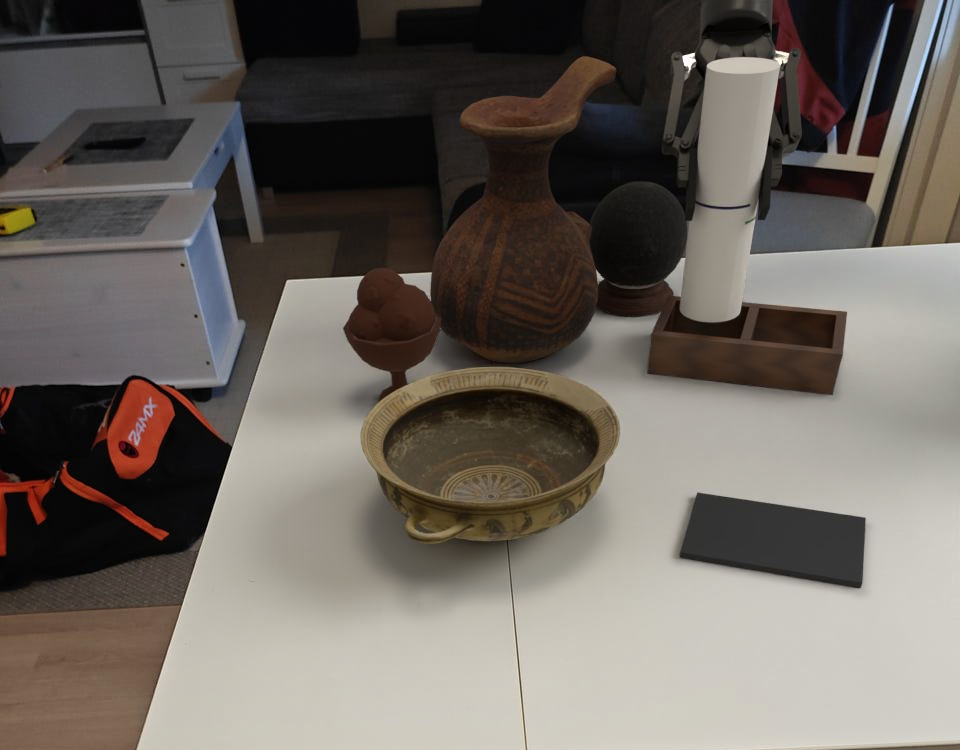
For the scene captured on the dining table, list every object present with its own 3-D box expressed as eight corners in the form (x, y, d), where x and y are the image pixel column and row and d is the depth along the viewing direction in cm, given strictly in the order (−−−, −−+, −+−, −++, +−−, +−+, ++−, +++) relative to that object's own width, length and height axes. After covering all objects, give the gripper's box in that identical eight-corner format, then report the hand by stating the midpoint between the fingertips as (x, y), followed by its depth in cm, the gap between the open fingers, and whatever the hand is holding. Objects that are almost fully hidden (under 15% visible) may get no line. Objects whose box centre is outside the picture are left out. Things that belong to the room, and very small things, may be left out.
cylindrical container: (668, 304, 107) (693, 63, 89) (719, 292, 108) (753, 54, 91) (699, 327, 102) (732, 77, 84) (752, 314, 103) (795, 67, 86)
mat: (864, 522, 84) (865, 517, 84) (860, 588, 77) (862, 582, 77) (696, 497, 88) (697, 492, 88) (679, 557, 82) (680, 552, 81)
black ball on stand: (684, 282, 126) (697, 168, 115) (675, 322, 117) (689, 203, 106) (593, 277, 128) (597, 166, 118) (577, 316, 119) (581, 199, 109)
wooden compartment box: (837, 350, 109) (847, 311, 106) (832, 394, 101) (842, 354, 98) (664, 332, 115) (668, 295, 111) (647, 373, 107) (650, 334, 104)
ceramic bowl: (545, 641, 74) (546, 549, 67) (311, 572, 83) (290, 483, 76) (654, 460, 93) (663, 373, 86) (455, 418, 102) (449, 335, 95)
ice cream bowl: (345, 420, 102) (324, 293, 92) (371, 374, 110) (353, 252, 100) (434, 425, 101) (422, 296, 90) (453, 378, 108) (444, 254, 98)
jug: (591, 384, 106) (605, 101, 85) (418, 376, 109) (390, 102, 88) (605, 307, 121) (620, 51, 100) (453, 302, 124) (436, 53, 103)
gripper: (823, 24, 97) (813, 230, 97) (640, 31, 99) (631, 231, 99) (842, -28, 89) (832, 194, 89) (645, -20, 92) (634, 197, 92)
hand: (726, 214), depth 94 cm, fingers closed on cylindrical container, 7 cm apart
